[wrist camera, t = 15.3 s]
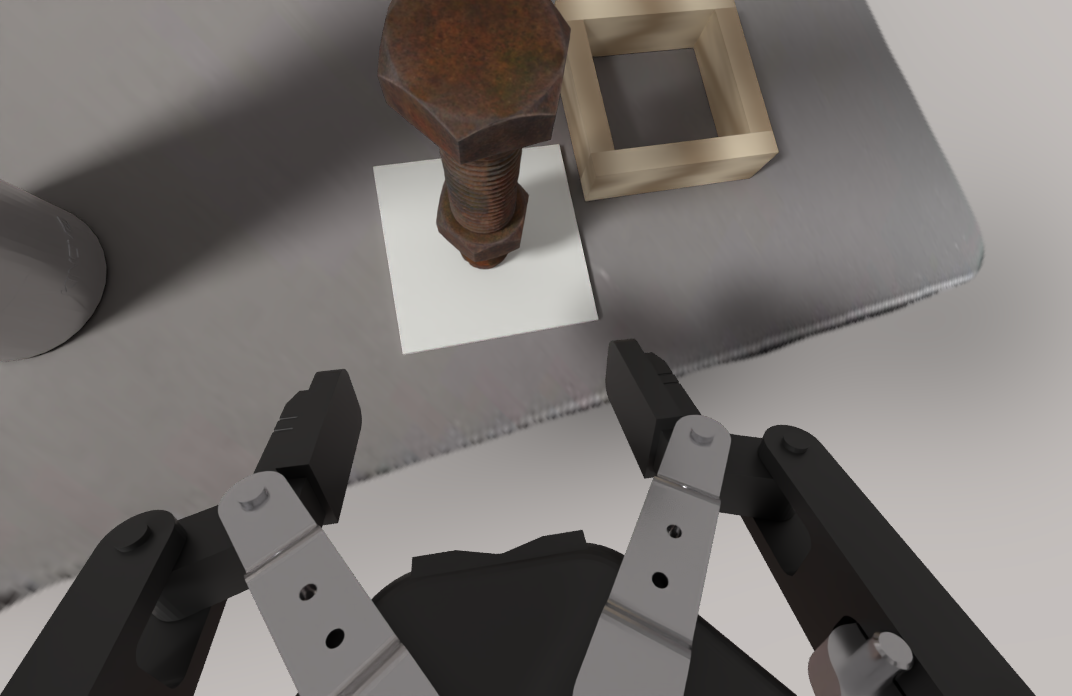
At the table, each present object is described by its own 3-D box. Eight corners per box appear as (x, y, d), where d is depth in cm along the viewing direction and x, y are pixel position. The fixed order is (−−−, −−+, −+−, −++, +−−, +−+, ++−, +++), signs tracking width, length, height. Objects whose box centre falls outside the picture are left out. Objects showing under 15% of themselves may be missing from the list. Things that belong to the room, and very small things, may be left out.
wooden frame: (585, 201, 28) (596, 176, 25) (548, 41, 30) (555, 0, 27) (750, 178, 30) (779, 152, 27) (707, 27, 31) (729, -13, 28)
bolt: (545, 247, 27) (613, 47, 12) (494, 306, 26) (498, 167, 11) (475, 189, 27) (457, -80, 12) (421, 245, 26) (331, 28, 11)
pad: (404, 355, 25) (402, 353, 25) (374, 170, 27) (372, 166, 27) (596, 320, 27) (598, 319, 27) (558, 147, 28) (559, 144, 28)
